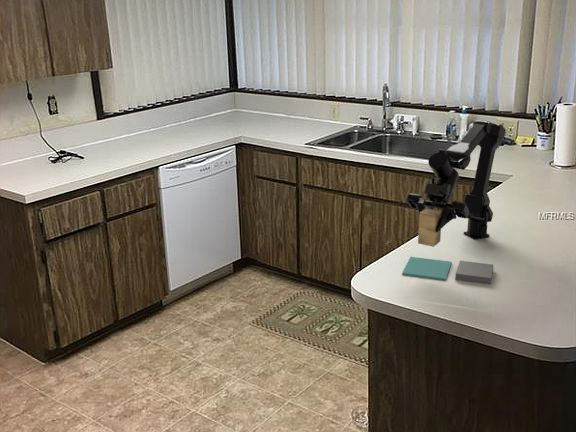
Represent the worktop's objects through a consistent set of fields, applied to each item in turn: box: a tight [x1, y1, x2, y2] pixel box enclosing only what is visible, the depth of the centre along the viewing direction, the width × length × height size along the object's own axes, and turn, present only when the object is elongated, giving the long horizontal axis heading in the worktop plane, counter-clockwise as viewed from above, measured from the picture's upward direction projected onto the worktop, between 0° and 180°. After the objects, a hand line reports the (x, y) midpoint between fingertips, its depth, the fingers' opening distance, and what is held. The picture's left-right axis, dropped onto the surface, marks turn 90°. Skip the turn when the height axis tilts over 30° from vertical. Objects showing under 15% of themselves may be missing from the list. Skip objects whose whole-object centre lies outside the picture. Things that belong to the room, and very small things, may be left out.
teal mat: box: [401, 256, 452, 281], centre depth 196 cm, size 13×13×1 cm
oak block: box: [417, 207, 443, 248], centre depth 192 cm, size 5×5×10 cm
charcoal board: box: [454, 260, 494, 285], centre depth 191 cm, size 10×10×2 cm
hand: (427, 229), depth 191 cm, fingers closed on oak block, 5 cm apart
